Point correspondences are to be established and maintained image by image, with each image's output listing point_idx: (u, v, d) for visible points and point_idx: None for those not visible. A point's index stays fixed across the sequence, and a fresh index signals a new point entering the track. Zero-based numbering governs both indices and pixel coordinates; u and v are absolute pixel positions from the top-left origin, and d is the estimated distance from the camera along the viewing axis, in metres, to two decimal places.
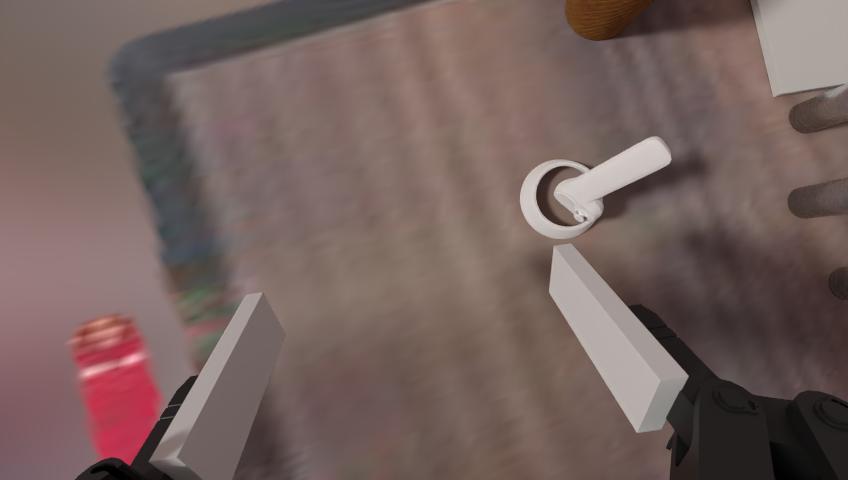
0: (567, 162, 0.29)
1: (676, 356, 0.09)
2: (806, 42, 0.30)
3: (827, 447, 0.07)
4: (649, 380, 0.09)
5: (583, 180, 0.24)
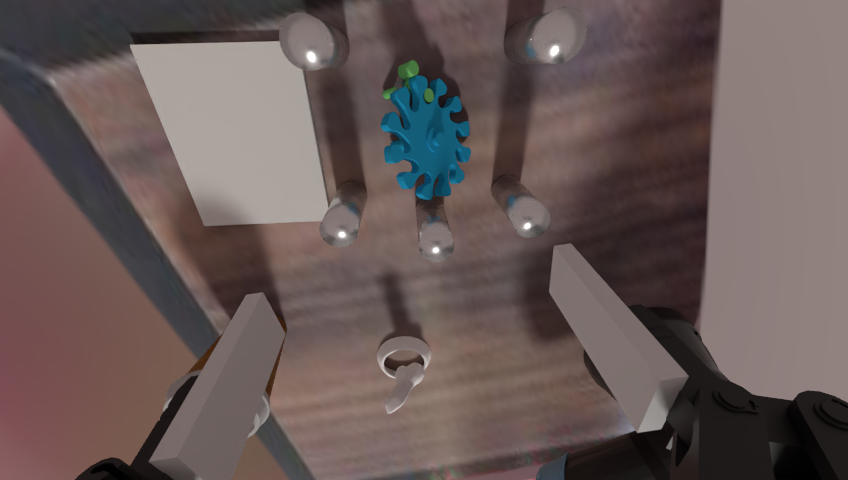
0: (381, 363, 0.43)
1: (676, 356, 0.09)
2: (277, 189, 0.31)
3: (827, 447, 0.07)
4: (649, 380, 0.09)
5: None
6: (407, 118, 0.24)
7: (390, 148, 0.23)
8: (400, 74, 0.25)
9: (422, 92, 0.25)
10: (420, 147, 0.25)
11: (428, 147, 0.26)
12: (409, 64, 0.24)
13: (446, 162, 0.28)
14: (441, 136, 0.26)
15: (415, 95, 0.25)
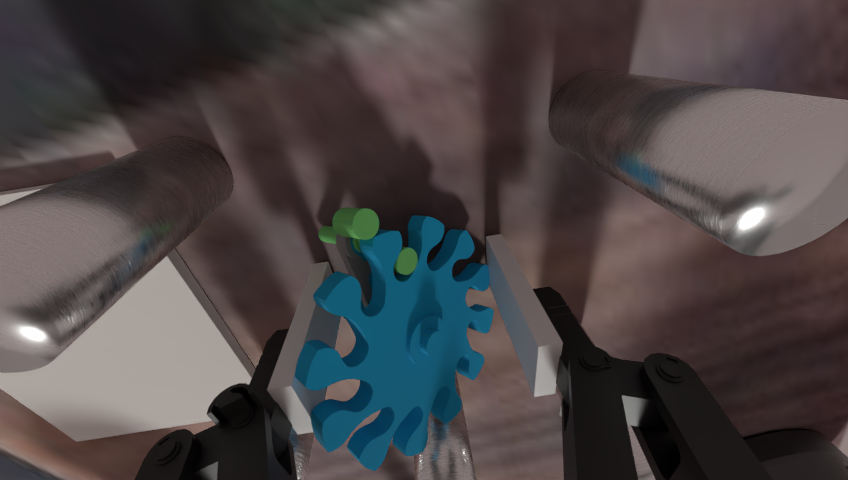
0: None
1: (565, 329, 0.11)
2: (173, 388, 0.19)
3: (669, 403, 0.08)
4: (534, 348, 0.10)
5: None
6: (360, 332, 0.11)
7: (321, 426, 0.10)
8: (339, 233, 0.11)
9: (391, 264, 0.11)
10: (395, 374, 0.12)
11: (412, 363, 0.12)
12: (353, 223, 0.10)
13: (451, 361, 0.14)
14: (438, 336, 0.13)
15: (377, 271, 0.11)
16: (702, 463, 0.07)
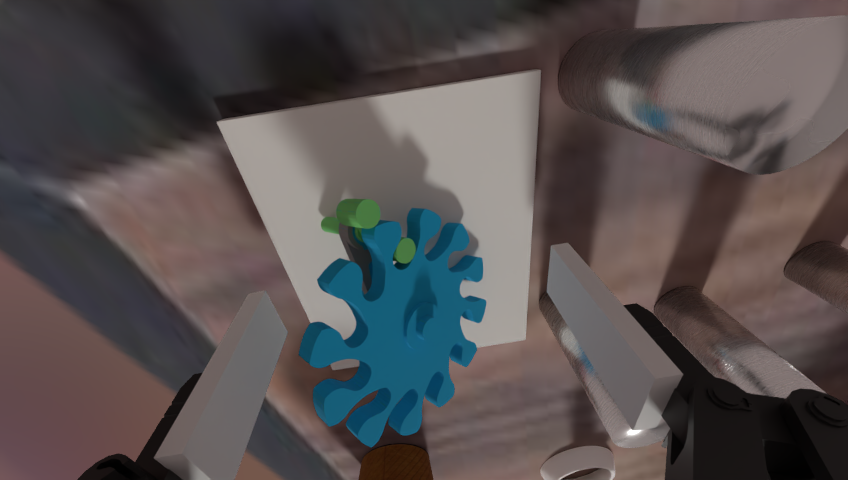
0: None
1: (671, 354, 0.09)
2: None
3: (820, 444, 0.07)
4: (644, 378, 0.09)
5: None
6: (360, 316, 0.12)
7: (322, 402, 0.11)
8: (342, 222, 0.12)
9: (391, 253, 0.12)
10: (392, 357, 0.13)
11: (409, 347, 0.13)
12: (356, 212, 0.11)
13: (445, 348, 0.15)
14: (433, 323, 0.13)
15: (377, 259, 0.12)
16: None
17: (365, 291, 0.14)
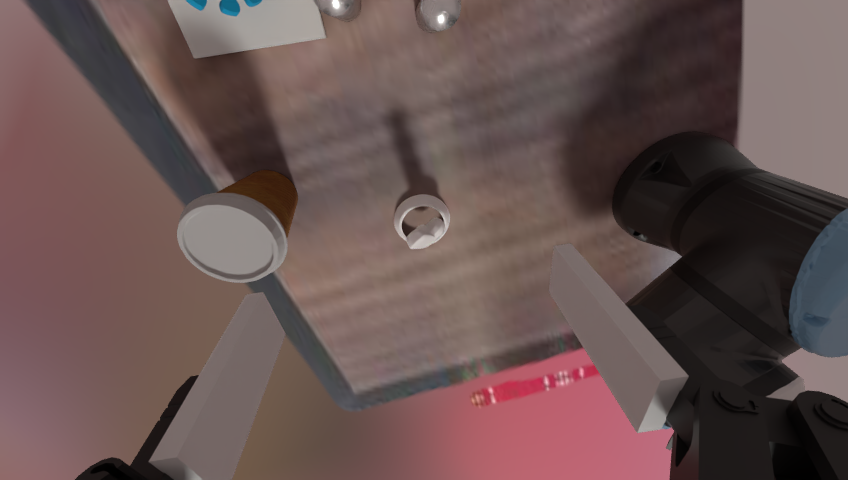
0: (399, 225, 0.41)
1: (676, 356, 0.09)
2: None
3: (827, 447, 0.07)
4: (649, 380, 0.09)
5: (423, 247, 0.38)
6: None
7: None
8: None
9: None
10: None
11: None
12: None
13: None
14: None
15: None
16: None
17: None
